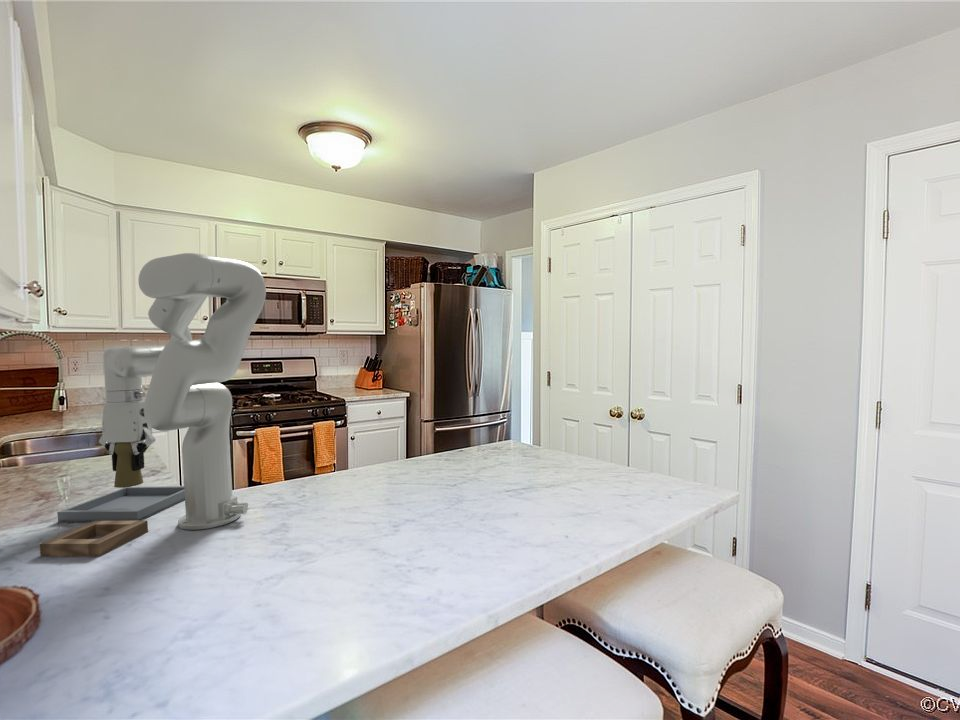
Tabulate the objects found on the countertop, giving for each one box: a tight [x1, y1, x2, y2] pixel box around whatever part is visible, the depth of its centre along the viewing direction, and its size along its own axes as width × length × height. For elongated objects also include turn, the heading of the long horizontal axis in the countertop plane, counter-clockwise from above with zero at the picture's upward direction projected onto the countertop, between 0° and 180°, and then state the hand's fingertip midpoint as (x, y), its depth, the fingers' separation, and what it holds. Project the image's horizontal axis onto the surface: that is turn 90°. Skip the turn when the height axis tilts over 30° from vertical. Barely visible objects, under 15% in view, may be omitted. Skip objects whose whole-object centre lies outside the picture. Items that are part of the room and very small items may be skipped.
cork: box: [113, 443, 144, 489], centre depth 125 cm, size 6×6×11 cm
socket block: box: [39, 519, 149, 557], centre depth 102 cm, size 12×12×2 cm
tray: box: [56, 485, 185, 524], centre depth 125 cm, size 20×20×2 cm
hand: (128, 468), depth 125 cm, fingers closed on cork, 4 cm apart
